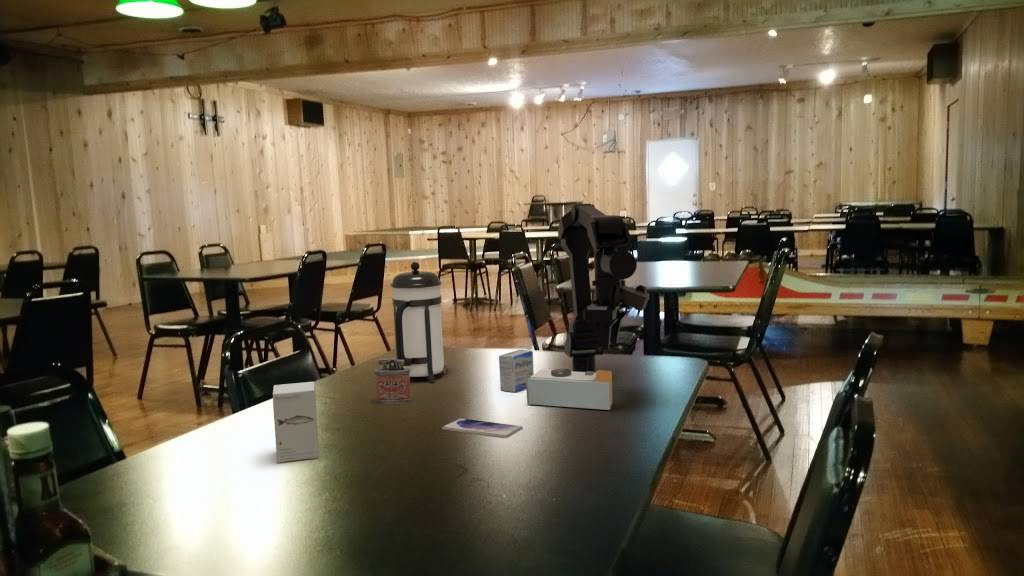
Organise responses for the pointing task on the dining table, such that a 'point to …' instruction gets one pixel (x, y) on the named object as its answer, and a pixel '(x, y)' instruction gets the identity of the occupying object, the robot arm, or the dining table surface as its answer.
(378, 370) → the lighter
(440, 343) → the coffee press
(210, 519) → the dining table surface
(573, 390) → the side door
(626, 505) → the dining table surface
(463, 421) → the smartphone
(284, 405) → the supplement box
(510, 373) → the medicine box
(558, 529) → the dining table surface
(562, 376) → the camera housing
